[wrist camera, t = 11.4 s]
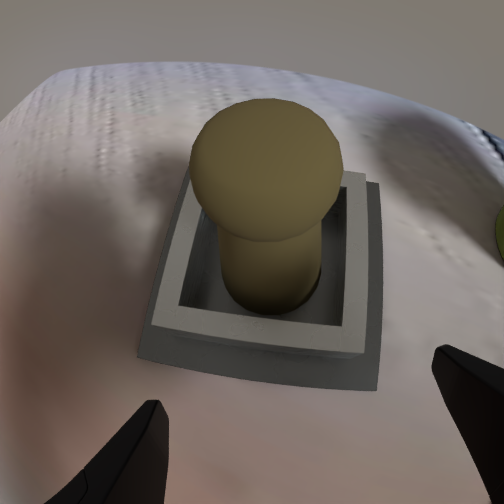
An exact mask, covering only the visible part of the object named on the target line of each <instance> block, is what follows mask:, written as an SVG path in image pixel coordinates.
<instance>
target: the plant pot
mask: <svg viewBox="0 0 504 504" xmlns="http://www.w3.org/2000/svg"><path fill="white" fill-rule="evenodd" d="M496 240H497V244H498V248H499V251H500V253H501V256H502V258H503V260H504V206H503V207H502V209H501V211H500V213H499V215H498V217H497V220H496Z"/></svg>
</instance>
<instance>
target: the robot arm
mask: <svg viewBox="0 0 504 504" xmlns="http://www.w3.org/2000/svg"><path fill="white" fill-rule="evenodd" d="M432 372H433V375H434V377H435V380H436V382H437V384H438V387H439V389H440V392H441V394H442V397H443V399H444V402H445V404H446V406H447V408H448V410H449V412H450V414H451V416H452V418H453V420H454V422H455V424H456V426H457V428H458V430H459V432H460V434H461V436H462V438H463V440H464V442H465V444H466V446H467V448H468V450H469V452H470V454H471V456H472V458H473V461H474V463H475V465H476V467H477V469H478V471H479V474H480V476H481V478H482V480H483V483H484V485H485V487H486V490H487V492H488V495H490V496H489V497H490V500H491V502H492V504H504V369H503V368H501V367H498V366H496V365H494V364H492V363H489V362H487V361H485V360H482V359H480V358H478V357H475V356H473V355H471V354H469V353H466V352H464V351H462V350H459V349H457V348H455V347H453V346H450V345H448V344H445V345H442V346H439V347H437V348H436V350H435V353H434V357H433V362H432ZM168 462H169V418H168V415H167V413H166V411H165V409H164V407H163V405H162V403H161V402H160V401H159V400H147V401H145V402H144V403H143V405H142V406H141V407H140V408H139V409H138V410H137V411H136V412H135V413H134V414H133V415H132V417H131V418H130V419H129V420H128V421H127V422H126V423H125V424H124V425H123V426H122V427H121V428H120V429H119V431H118V432H117V433H116V434H115V435H114V436H113V437H112V438H111V439H110V440H109V441H108V442H107V443H106V445H105V446H104V447H103V448H102V449H101V450H100V451H99V452H98V453H97V454H96V455H95V456H94V457H93V458H92V459H91V460H90V462H89V463H88V464H87V465H86V466H85V467H84V469H82V470H81V471H80V472H79V473H78V474H77V475H76V476H75V477H74V478H73V479H72V480H71V481H70V482H69V483H68V484H67V485H66V486H65V487H64V488H62V489H61V490H60V491H59V492H58V493H57V494H55V495H54V496H53V497H52V498H51V499H49V500H48V501H47V502H46V503H44V504H164V497H165V488H166V480H167V472H168Z"/></svg>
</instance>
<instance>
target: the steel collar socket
mask: <svg viewBox="0 0 504 504" xmlns="http://www.w3.org/2000/svg"><path fill="white" fill-rule="evenodd" d="M382 309H383V244H382V220H381V204H380V191H379V183H374V182H367V181H366V175H365V174H364V173H357V172H350V171H343V176H342V180H341V185H340V189H339V192H338V196H337V199H336V201H335V202H334V204H333V205H332V206H331V208H330V209H329V211H328V212H327V213H326V215H325V216H324V217H323V219H322V220H321V276H320V280H319V283H318V287H317V289H316V290H315V292H314V293H313V295H312V296H311V298H310V299H309V300H308V301H307V302H306V303H304V304H303V305H302V306H300V307H299V308H298V309H296V310H294V311H291V312H288V313H285V314H282V315H260V314H257V313H254V312H251V311H248V310H246V309H245V308H243V307H242V306H241V305H239V304H238V303H236V302H235V301H234V300H233V298H232V297H231V296H230V294H229V293H228V291H227V290H226V288H225V285H224V281H223V278H222V274H221V264H220V253H219V242H218V231H217V224H215V223H214V222H213V221H212V220H211V219H210V218H209V217H208V215H207V214H206V213H205V211H204V210H203V208H202V207H201V206H200V204H199V203H198V201H197V199H196V197H195V194H194V192H193V188H192V184H191V179H190V175H189V166H188V169H187V172H186V175H185V178H184V181H183V184H182V187H181V190H180V193H179V196H178V200H177V203H176V206H175V209H174V213H173V216H172V219H171V223H170V226H169V229H168V233H167V236H166V240H165V243H164V247H163V250H162V254H161V258H160V261H159V265H158V269H157V273H156V277H155V281H154V284H153V288H152V292H151V297H150V301H149V305H148V309H147V313H146V318H145V322H144V327H143V331H142V336H141V340H140V345H139V350H138V355H137V357H138V358H141V359H145V360H149V361H154V362H158V363H162V364H166V365H171V366H175V367H180V368H184V369H189V370H194V371H199V372H204V373H210V374H215V375H221V376H226V377H232V378H238V379H245V380H252V381H259V382H266V383H274V384H282V385H291V386H301V387H311V388H323V389H338V390H357V391H377V383H378V373H379V361H380V348H381V332H382Z"/></svg>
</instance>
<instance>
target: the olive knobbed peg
mask: <svg viewBox="0 0 504 504" xmlns="http://www.w3.org/2000/svg"><path fill="white" fill-rule="evenodd" d="M343 171H344V170H343V162H342V156H341V151H340V146H339V142H338V140H337V139H336V137H335V136H334V134H333V133H332V131H331V130H330V128H329V127H328V125H327V124H326V122H325V121H324V120H323V119H322V118H321V117H320V116H318V115H317V114H316V113H314V112H313V111H312V110H310V109H309V108H306V107H304V106H302V105H299V104H297V103H295V102H291V101H286V100H280V99H274V98H272V99H252V100H248V101H244V102H240V103H236V104H234V105H232V106H230V107H227V108H225V109H223V110H221V111H219V112H218V113H217V114H216V115H215V116H213V117H212V118H211V119H210V120H209V121H207V122H206V124H205V125H204V127H203V128H202V130H201V132H200V133H199V135H198V136H197V138H196V140H195V142H194V144H193V146H192V151H191V156H190V162H189V175H190V179H191V184H192V188H193V192H194V194H195V197H196V199H197V201H198V203H199V204H200V206H201V207H202V208H203V210H204V211H205V213H206V214H207V215H208V217H209V218H210V219H211V220H212V221H213V222H214V223H215V224H217V231H218V242H219V253H220V264H221V274H222V278H223V281H224V285H225V288H226V290H227V291H228V293H229V294H230V296H231V297H232V298H233V300H234V301H235V302H236V303H238V304H239V305H241V306H242V307H243V308H245V309H246V310H248V311H251V312H254V313H257V314H260V315H282V314H285V313H288V312H291V311H294V310H296V309H298V308H299V307H300V306H302V305H303V304H304V303H306V302H307V301H308V300H309V299H310V298H311V296H312V295H313V293H314V292H315V290H316V289H317V287H318V283H319V280H320V276H321V220H322V219H323V217H324V216H325V215H326V213H327V212H328V211H329V209H330V208H331V206H332V205H333V204H334V202H335V201H336V199H337V196H338V192H339V189H340V185H341V180H342V176H343Z"/></svg>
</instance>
